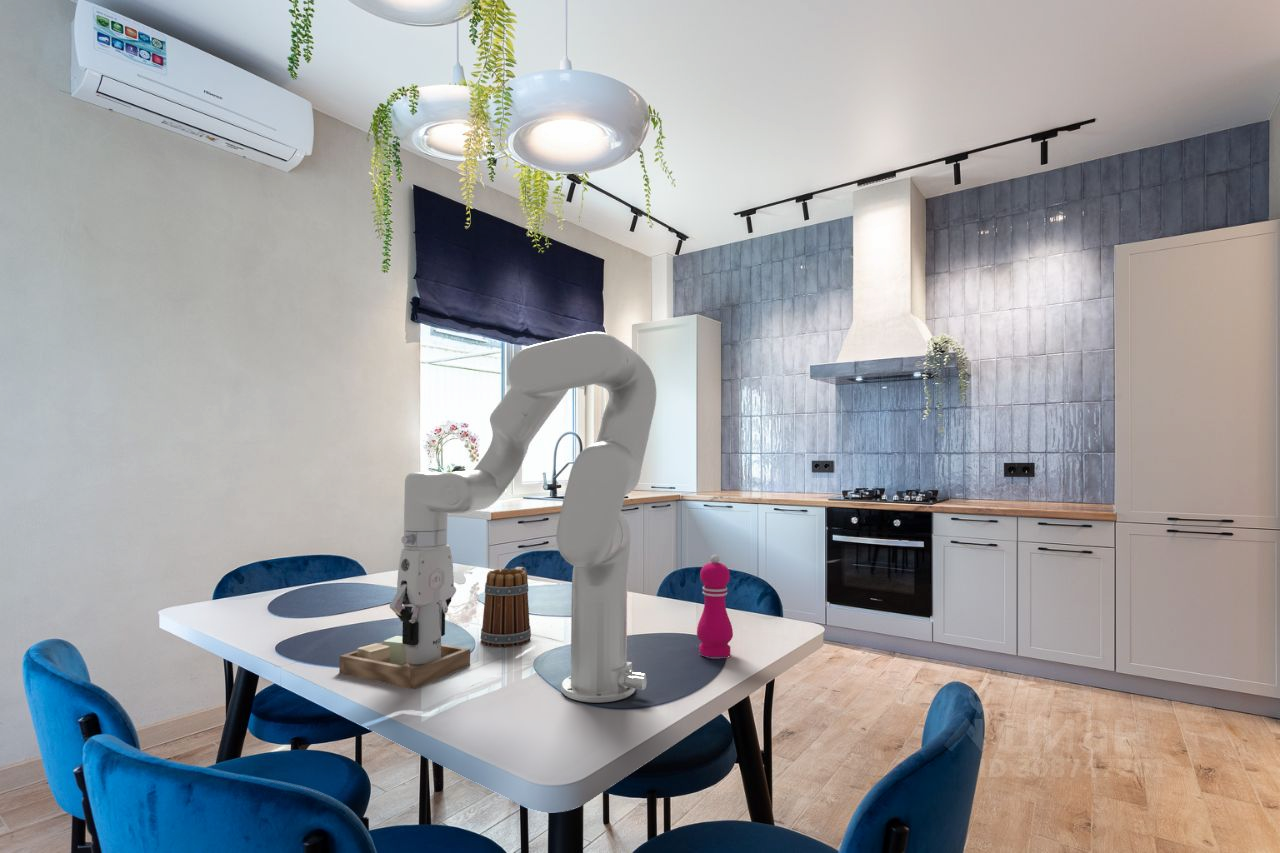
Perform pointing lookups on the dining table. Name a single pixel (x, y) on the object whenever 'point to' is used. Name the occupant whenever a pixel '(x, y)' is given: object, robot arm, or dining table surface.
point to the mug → (506, 608)
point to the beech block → (375, 652)
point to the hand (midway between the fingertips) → (424, 638)
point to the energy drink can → (427, 634)
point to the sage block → (396, 650)
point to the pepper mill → (714, 611)
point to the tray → (406, 668)
